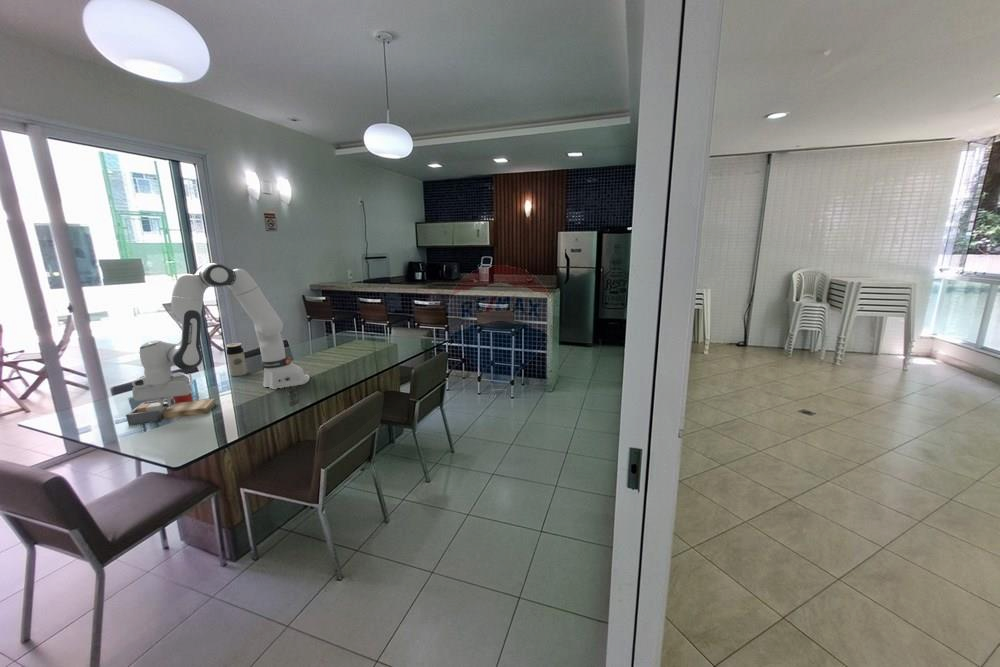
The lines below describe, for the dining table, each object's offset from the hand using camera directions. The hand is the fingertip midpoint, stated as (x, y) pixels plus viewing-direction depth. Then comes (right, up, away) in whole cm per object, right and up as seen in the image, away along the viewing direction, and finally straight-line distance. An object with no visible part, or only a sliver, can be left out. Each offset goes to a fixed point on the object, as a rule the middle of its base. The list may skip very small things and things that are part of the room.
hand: (166, 406), depth 172 cm
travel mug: (-2, +9, +51) cm, 52 cm away
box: (-5, -4, -1) cm, 7 cm away
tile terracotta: (-6, -1, -2) cm, 6 cm away
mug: (-12, +1, +23) cm, 26 cm away
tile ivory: (-4, -2, -1) cm, 4 cm away
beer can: (-2, -1, +13) cm, 13 cm away
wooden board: (+8, -3, +4) cm, 9 cm away
